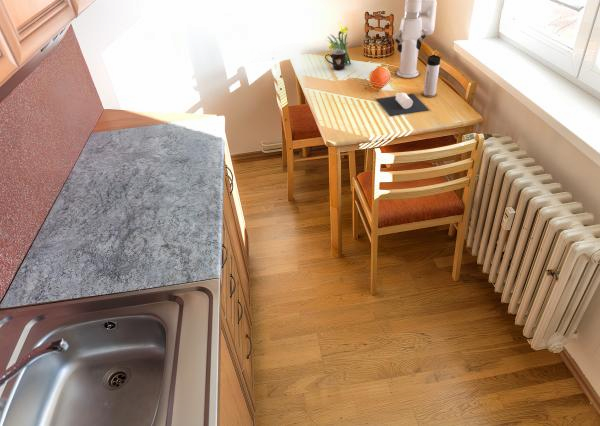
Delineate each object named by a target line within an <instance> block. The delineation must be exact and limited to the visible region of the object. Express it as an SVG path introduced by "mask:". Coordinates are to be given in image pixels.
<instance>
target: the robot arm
mask: <svg viewBox="0 0 600 426" xmlns="http://www.w3.org/2000/svg"><path fill="white" fill-rule="evenodd" d="M437 3H438V2H437V0H405V1H404V11H403V12H404V13H403V16H402V17H401V21H400V24H399V31H398V32H396V33H395V34H393V35H392V37H393V39H394V41H395V42H396V43H397V48H396V49H397V51H398V52H399V54H400V59H399V69H397V70H396V75H397V77H399V78H403V79H413V78H416V77H418V76H419V74H420V71H419V70H417V68H418V60H419V59H418V57H419V51H420V50H421V47H422V42H424V41H423V40H424V39H425V38H426V36H429V37H430V36H432V35H433V34H434V32H435V27H436V18H437V10H438V9H437V7H438V5H437ZM398 37H399V38H398Z"/></svg>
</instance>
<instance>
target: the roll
mask: <svg viewBox="0 0 600 426" xmlns="http://www.w3.org/2000/svg"><path fill="white" fill-rule="evenodd" d="M395 96H396V99H395V100H396V101H397V102H398V103H399V104H400V105H401V106H402V107H403V108H404V109H408V108H410V107H411V106H412V104H413V101H412V100H411V99H410V98H409V97H408V93H406V92H396V94H395Z"/></svg>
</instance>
